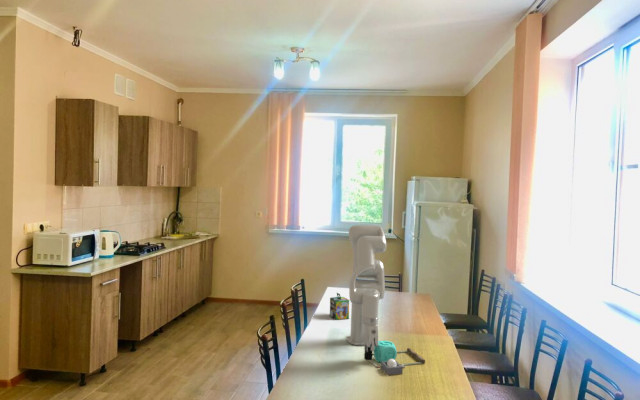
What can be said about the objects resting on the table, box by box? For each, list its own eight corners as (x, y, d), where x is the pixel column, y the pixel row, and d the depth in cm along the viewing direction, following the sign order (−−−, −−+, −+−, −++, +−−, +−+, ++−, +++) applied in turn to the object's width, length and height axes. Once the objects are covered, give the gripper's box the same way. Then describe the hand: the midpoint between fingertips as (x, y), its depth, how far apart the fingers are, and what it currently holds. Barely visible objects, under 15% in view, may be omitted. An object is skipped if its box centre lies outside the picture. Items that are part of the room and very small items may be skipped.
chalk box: (349, 319, 266) (350, 294, 266) (335, 320, 263) (336, 295, 262) (342, 314, 275) (343, 290, 274) (329, 315, 272) (330, 291, 271)
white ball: (385, 367, 195) (385, 357, 195) (393, 366, 197) (394, 356, 196) (389, 371, 191) (389, 361, 191) (398, 370, 193) (398, 360, 192)
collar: (380, 368, 196) (381, 361, 196) (395, 367, 198) (395, 360, 198) (387, 375, 190) (387, 368, 190) (402, 373, 192) (402, 366, 192)
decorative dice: (372, 358, 208) (373, 341, 208) (387, 356, 211) (388, 339, 211) (381, 364, 201) (381, 347, 200) (396, 362, 203) (397, 345, 203)
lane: (362, 353, 213) (362, 349, 213) (406, 349, 220) (407, 346, 220) (379, 370, 194) (379, 366, 194) (427, 365, 201) (427, 362, 201)
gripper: (384, 324, 196) (382, 365, 197) (371, 314, 211) (369, 352, 212) (368, 325, 194) (366, 366, 195) (356, 315, 209) (354, 353, 209)
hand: (368, 359), depth 203 cm, fingers closed
